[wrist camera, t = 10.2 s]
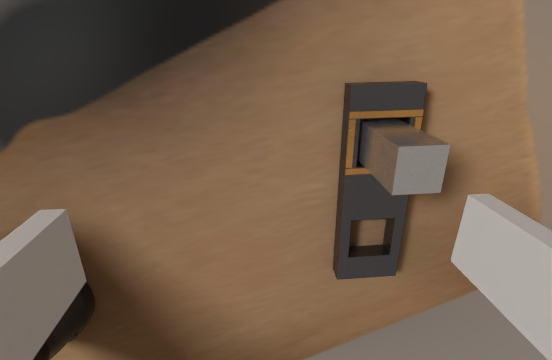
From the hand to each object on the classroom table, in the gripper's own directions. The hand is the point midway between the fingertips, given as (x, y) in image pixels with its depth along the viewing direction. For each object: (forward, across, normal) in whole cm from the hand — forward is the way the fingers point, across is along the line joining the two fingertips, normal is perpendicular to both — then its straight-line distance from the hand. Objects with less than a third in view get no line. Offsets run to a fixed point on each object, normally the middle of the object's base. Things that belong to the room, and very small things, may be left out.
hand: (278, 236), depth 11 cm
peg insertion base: (+30, +16, -12) cm, 36 cm away
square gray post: (+30, +16, -5) cm, 34 cm away
